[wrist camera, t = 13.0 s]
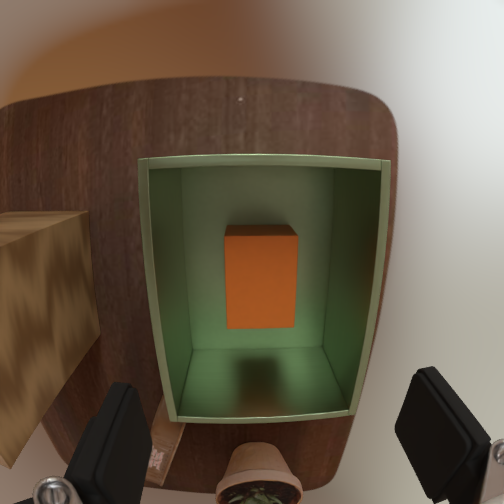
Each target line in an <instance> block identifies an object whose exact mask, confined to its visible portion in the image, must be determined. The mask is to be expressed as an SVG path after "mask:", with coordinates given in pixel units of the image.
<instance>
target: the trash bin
mask: <svg viewBox="0 0 504 504" xmlns="http://www.w3.org/2000/svg"><path fill="white" fill-rule="evenodd" d="M390 176H391V161H390V160H380V159H368V158H355V157H340V156H322V155H296V154H212V155H186V156H167V157H153V158H140V159H138V187H139V207H140V223H141V236H142V248H143V259H144V269H145V278H146V286H147V295H148V302H149V310H150V317H151V324H152V330H153V337H154V343H155V349H156V355H157V360H158V366H159V371H160V376H161V381H162V386H163V391H164V396H165V401H166V405H167V410H168V414H169V419H170V421H172V422H189V423H221V424H242V423H274V422H291V421H303V420H314V419H324V418H333V417H341V416H347V415H355V413H356V410H357V406H358V402H359V398H360V394H361V390H362V386H363V382H364V377H365V373H366V368H367V364H368V359H369V354H370V349H371V344H372V339H373V334H374V328H375V322H376V316H377V310H378V304H379V297H380V290H381V283H382V276H383V268H384V259H385V250H386V239H387V228H388V215H389V199H390ZM227 225H290V226H291V227H292V228H293V230H294V231H295V232H296V234H297V235H298V263H297V285H296V305H295V322H294V328H265V329H227V318H226V291H225V259H224V235H225V230H226V226H227Z"/></svg>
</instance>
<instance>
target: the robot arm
mask: <svg viewBox="0 0 504 504" xmlns="http://www.w3.org/2000/svg"><path fill="white" fill-rule="evenodd" d="M395 433H396V435H397V437H398V439H399V441H400V443H401V445H402V447H403V449H404V451H405V453H406V455H407V457H408V459H409V461H410V463H411V465H412V467H413V469H414V471H415V473H416V475H417V477H418V479H419V481H420V483H421V485H422V487H423V490H424V492H425V494H426V496H427V497H428V498H429V499H432V501H433V503H434V504H436V503H439V502H441V501H444V500H446V499H448V501H449V504H504V439H499V440H497V441H495V442H494V443H493V444H491V443H490V440H491V438H490V437H489V435H488V434H487V433H486V431H485V430H484V429H483V427H482V426H481V425H480V423H479V422H478V421H477V419H476V418H475V417H474V415H473V414H472V413H471V412H470V410H469V409H468V408H467V406H466V405H465V404H464V403H463V401H462V400H461V399H460V398H459V396H458V395H457V394H456V392H455V391H454V390H453V389H452V388H451V386H450V385H449V384H448V383H447V381H446V380H445V379H444V378H443V376H442V375H441V374H440V373H439V372H438V370H437V369H436V368H435V367H433V366H431V367H426V368H421V369H418V370H417V372H416V374H414V375H413V377H412V380H411V383H410V386H409V389H408V391H407V394H406V397H405V400H404V403H403V405H402V408H401V411H400V413H399V416H398V418H397V421H396V424H395ZM152 446H153V442H152V438H151V435H150V431H149V428H148V425H147V422H146V419H145V415H144V412H143V409H142V405H141V402H140V398H139V394H138V391H137V389H136V388H132V385H131V384H129V383H119V382H114V383H112V385H111V387H110V389H109V391H108V393H107V395H106V398H105V400H104V402H103V404H102V406H101V408H100V410H99V413H98V415H97V417H94V416H93V417H92V418H90V420H89V422H88V424H87V426H86V428H85V430H84V432H83V434H82V437H81V439H80V441H79V443H78V445H77V448H76V450H75V452H74V454H73V457H72V459H71V461H70V463H69V466H68V468H67V470H66V473H65V475H64V477H63V478H62V477H60V476H49V477H45V478H43V479H41V480H40V481H39V482H38V483H37V484H36V485H35V487H34V489H33V494H32V495H33V497H32V498H29V499H26V500H23V501H20V502H17V503H14V504H140V500H141V495H142V491H143V486H144V482H145V478H146V473H147V469H148V465H149V460H150V456H151V452H152Z"/></svg>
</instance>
